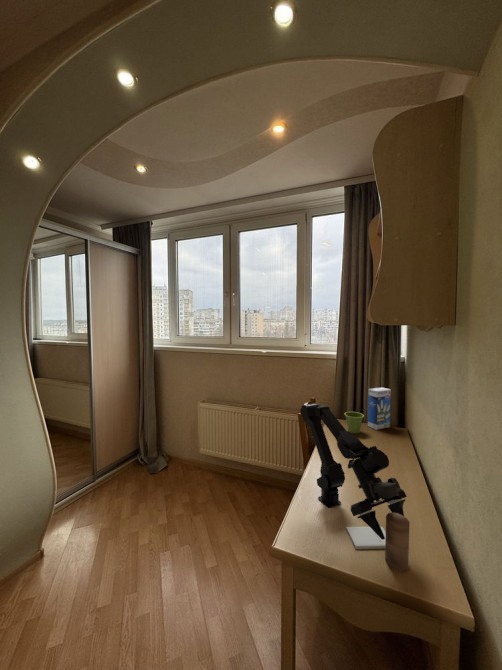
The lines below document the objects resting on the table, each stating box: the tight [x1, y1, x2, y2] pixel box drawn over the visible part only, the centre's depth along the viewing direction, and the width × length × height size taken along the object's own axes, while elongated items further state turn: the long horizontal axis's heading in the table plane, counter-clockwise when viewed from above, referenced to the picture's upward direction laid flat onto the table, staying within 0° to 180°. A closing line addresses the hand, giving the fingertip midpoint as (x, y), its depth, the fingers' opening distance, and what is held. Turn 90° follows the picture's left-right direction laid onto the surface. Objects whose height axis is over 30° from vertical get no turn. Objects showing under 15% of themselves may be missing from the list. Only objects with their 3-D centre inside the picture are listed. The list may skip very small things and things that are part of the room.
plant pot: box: [344, 411, 365, 435], centre depth 175 cm, size 12×12×11 cm
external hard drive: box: [345, 526, 386, 550], centre depth 89 cm, size 2×8×12 cm
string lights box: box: [367, 386, 392, 431], centre depth 184 cm, size 13×8×26 cm, turn 115°
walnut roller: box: [384, 512, 410, 573], centre depth 79 cm, size 6×6×13 cm
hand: (394, 534), depth 80 cm, fingers open, 9 cm apart
